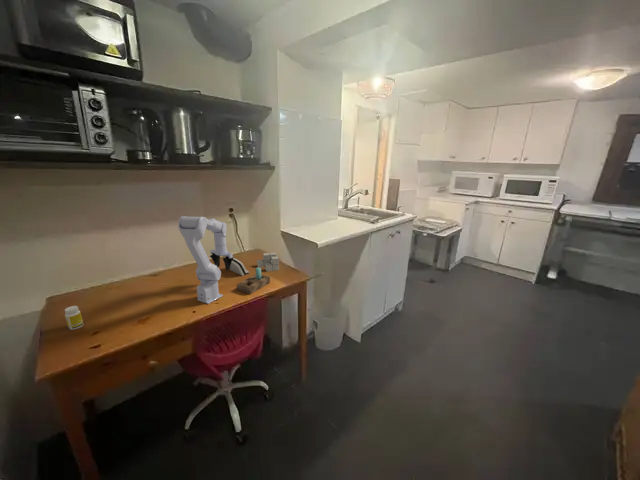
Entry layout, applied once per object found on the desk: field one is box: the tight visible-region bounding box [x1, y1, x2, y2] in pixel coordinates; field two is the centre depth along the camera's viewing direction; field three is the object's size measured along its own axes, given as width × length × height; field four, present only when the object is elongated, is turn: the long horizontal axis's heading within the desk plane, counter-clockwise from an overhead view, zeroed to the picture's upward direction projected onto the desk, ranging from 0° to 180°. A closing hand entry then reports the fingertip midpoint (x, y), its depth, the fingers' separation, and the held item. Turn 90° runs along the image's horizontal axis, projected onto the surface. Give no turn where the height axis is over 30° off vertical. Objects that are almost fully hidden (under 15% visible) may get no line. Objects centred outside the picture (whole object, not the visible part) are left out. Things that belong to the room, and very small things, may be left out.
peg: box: [255, 267, 262, 280], centre depth 152 cm, size 3×3×9 cm
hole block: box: [236, 273, 271, 295], centre depth 149 cm, size 16×9×4 cm, turn 152°
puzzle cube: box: [256, 251, 280, 272], centre depth 175 cm, size 12×12×8 cm
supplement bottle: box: [64, 305, 84, 331], centre depth 112 cm, size 5×5×8 cm
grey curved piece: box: [228, 257, 250, 277], centre depth 168 cm, size 17×5×10 cm, turn 49°
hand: (222, 268), depth 149 cm, fingers open, 7 cm apart
